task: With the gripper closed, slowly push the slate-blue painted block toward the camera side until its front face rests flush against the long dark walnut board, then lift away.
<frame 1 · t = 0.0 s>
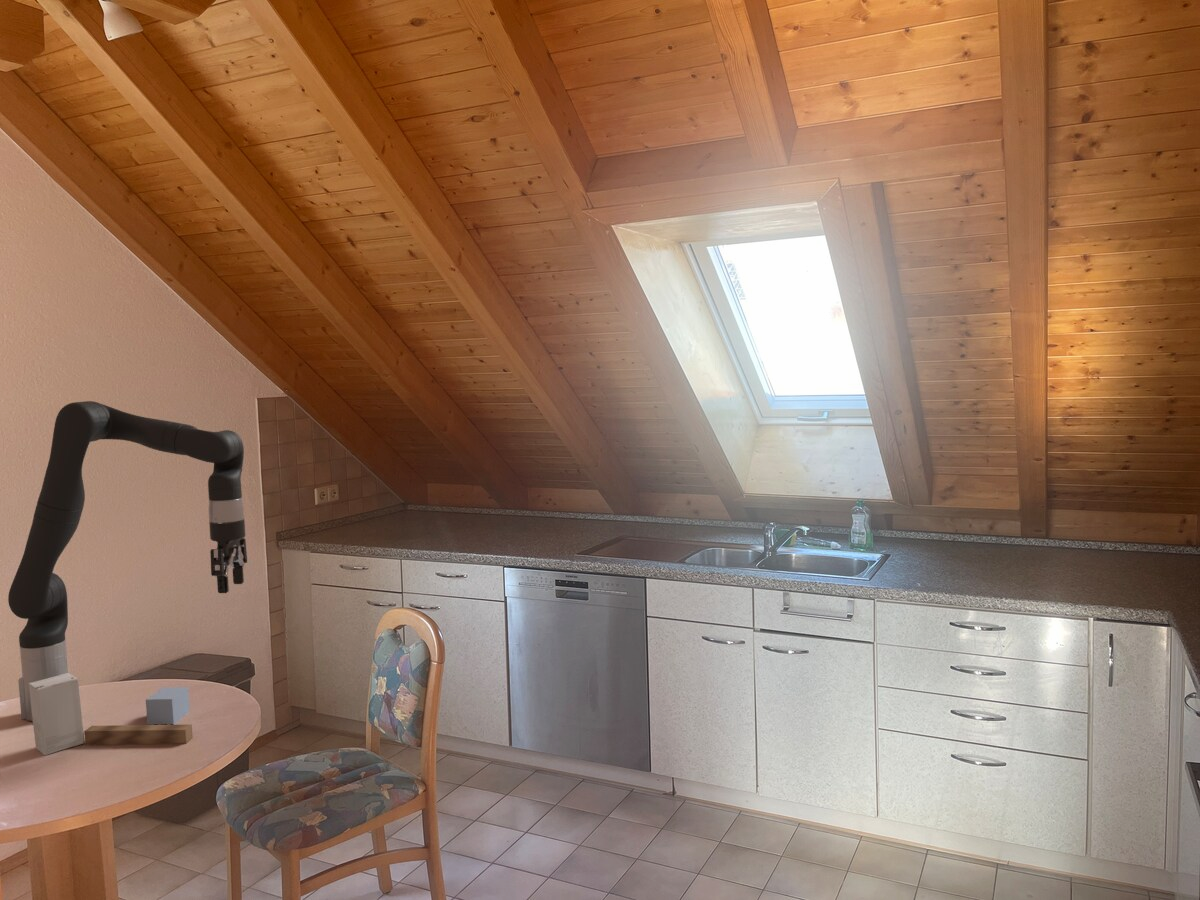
hand: (231, 588, 221), 29 cm above the table, fingers open, 8 cm apart
board: (139, 741, 208), on the table
block: (169, 718, 221), on the table
skincare box: (59, 747, 206), on the table
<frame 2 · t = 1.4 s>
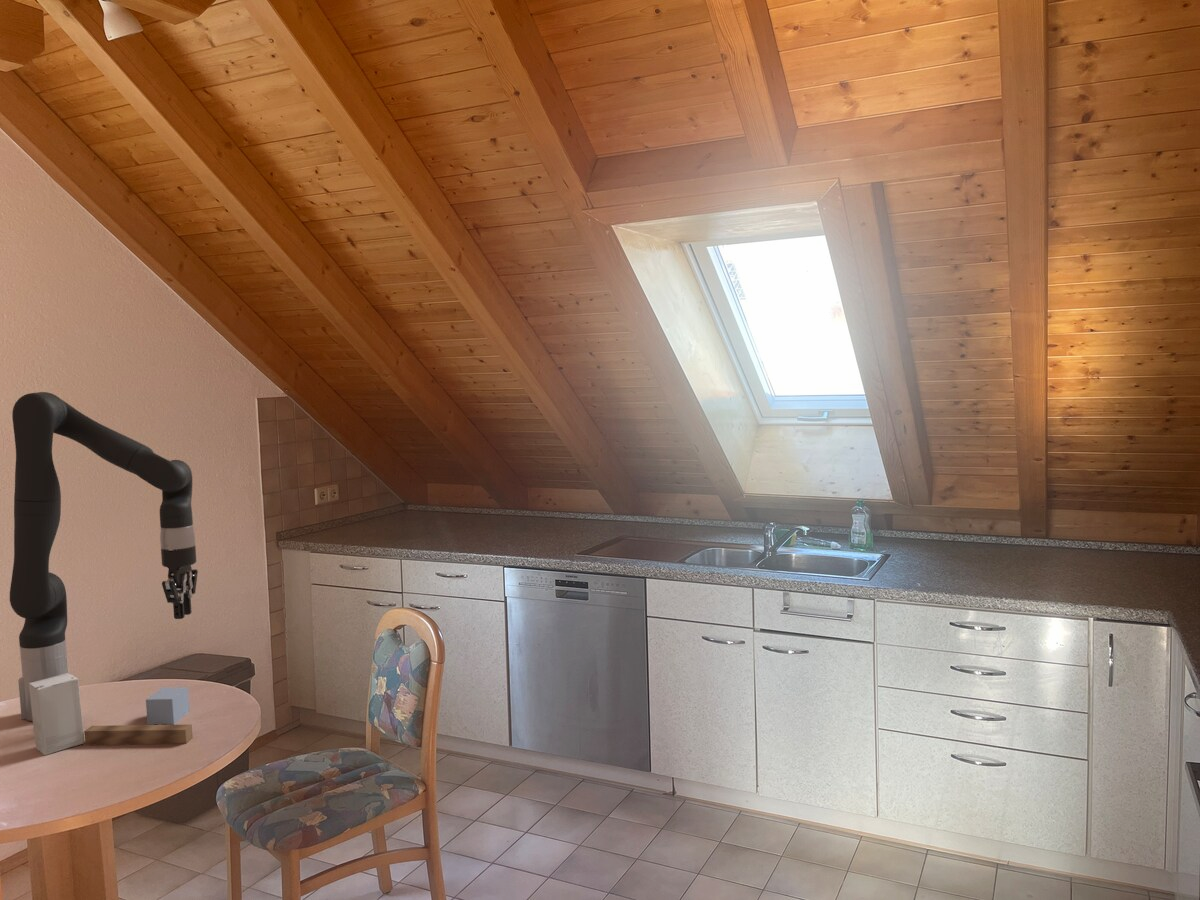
hand: (182, 616, 229), 21 cm above the table, fingers open, 3 cm apart
nothing on the table moved.
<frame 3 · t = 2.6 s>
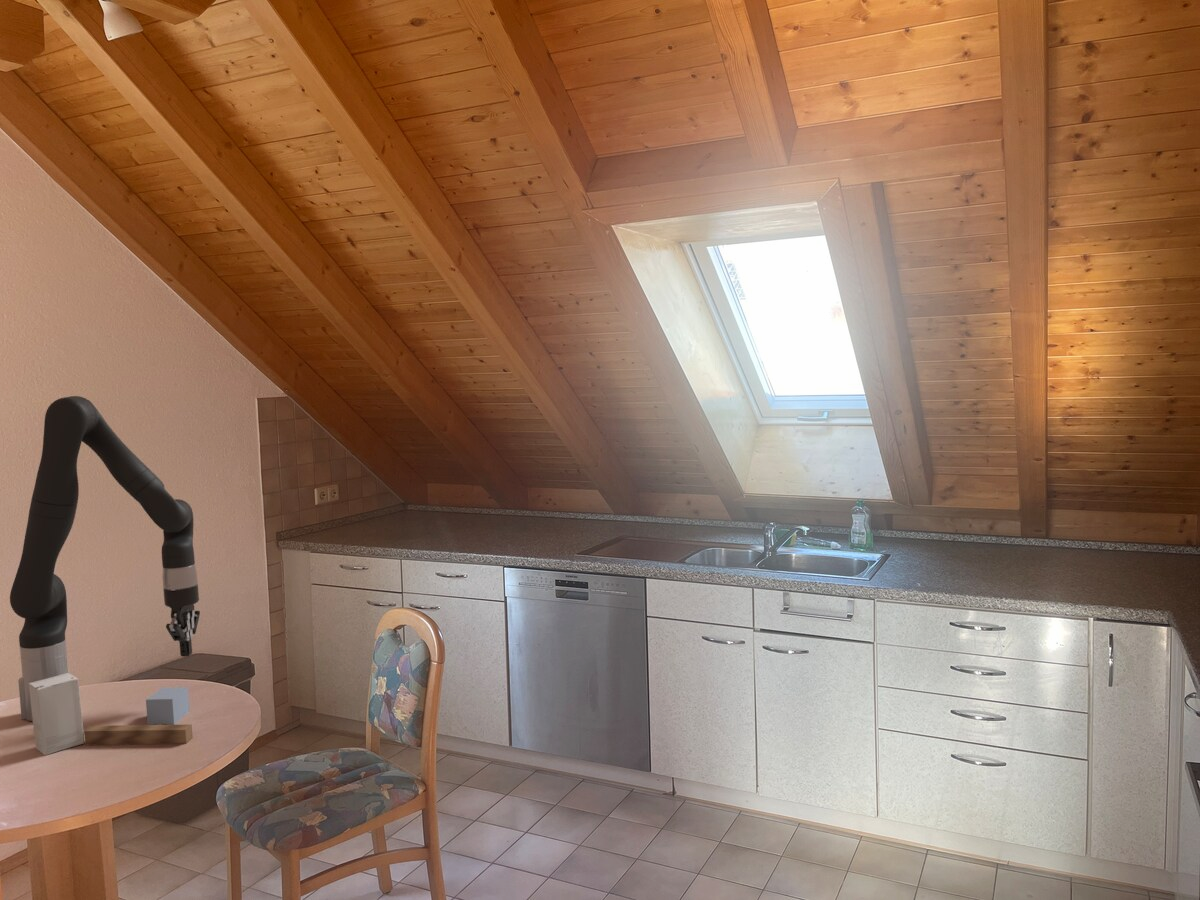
hand: (186, 655, 230), 12 cm above the table, fingers closed
nothing on the table moved.
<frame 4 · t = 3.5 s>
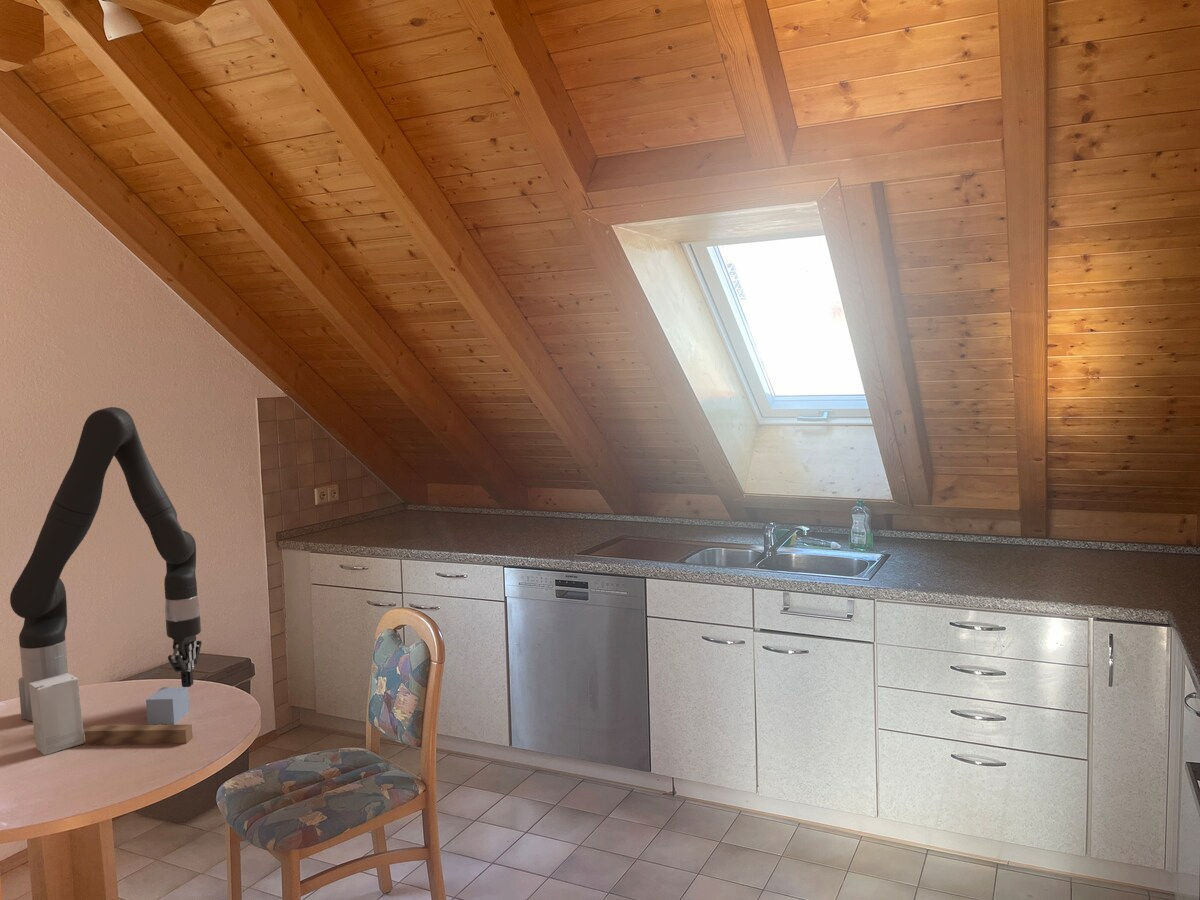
hand: (187, 685, 231), 4 cm above the table, fingers closed
nothing on the table moved.
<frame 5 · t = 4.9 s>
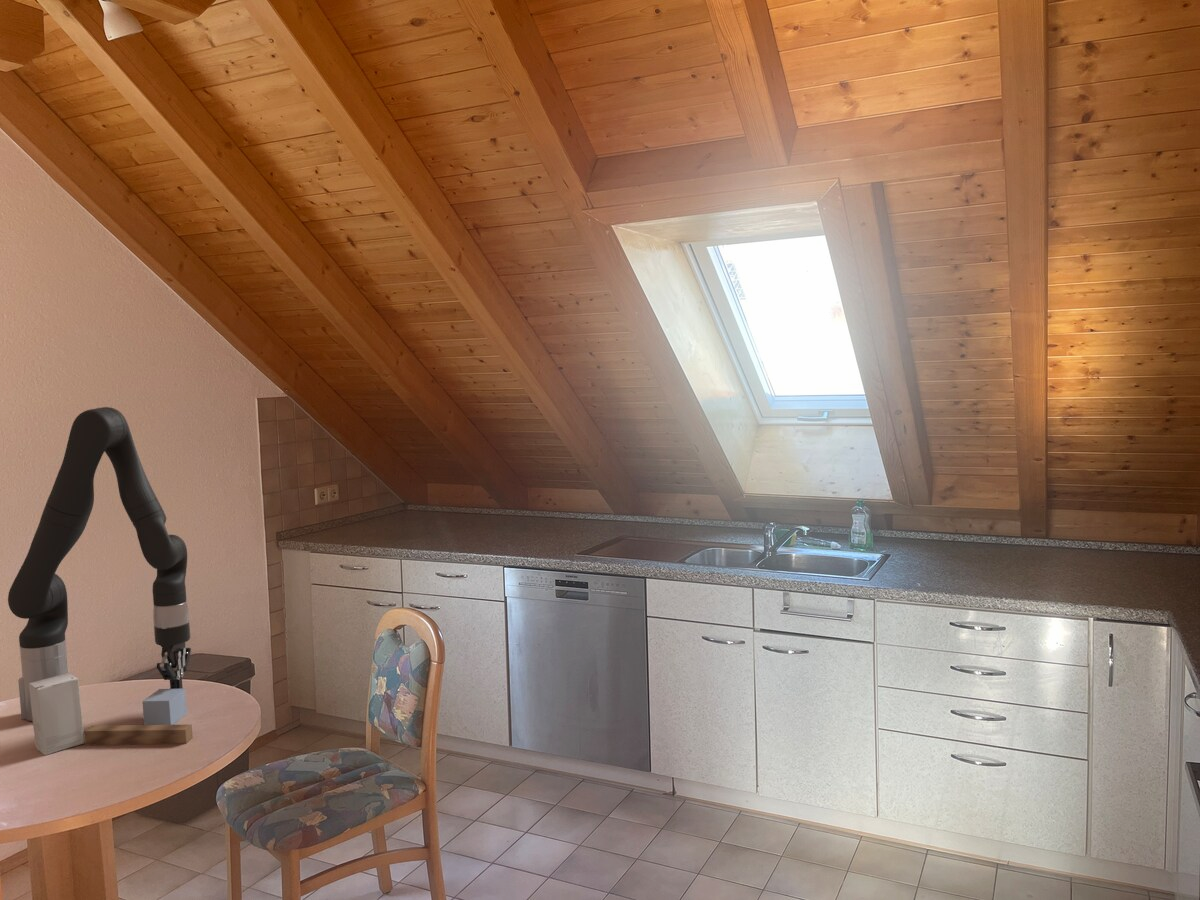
hand: (176, 694, 225), 4 cm above the table, fingers closed
block: (165, 720, 220), on the table, touching gripper
everything else where it was.
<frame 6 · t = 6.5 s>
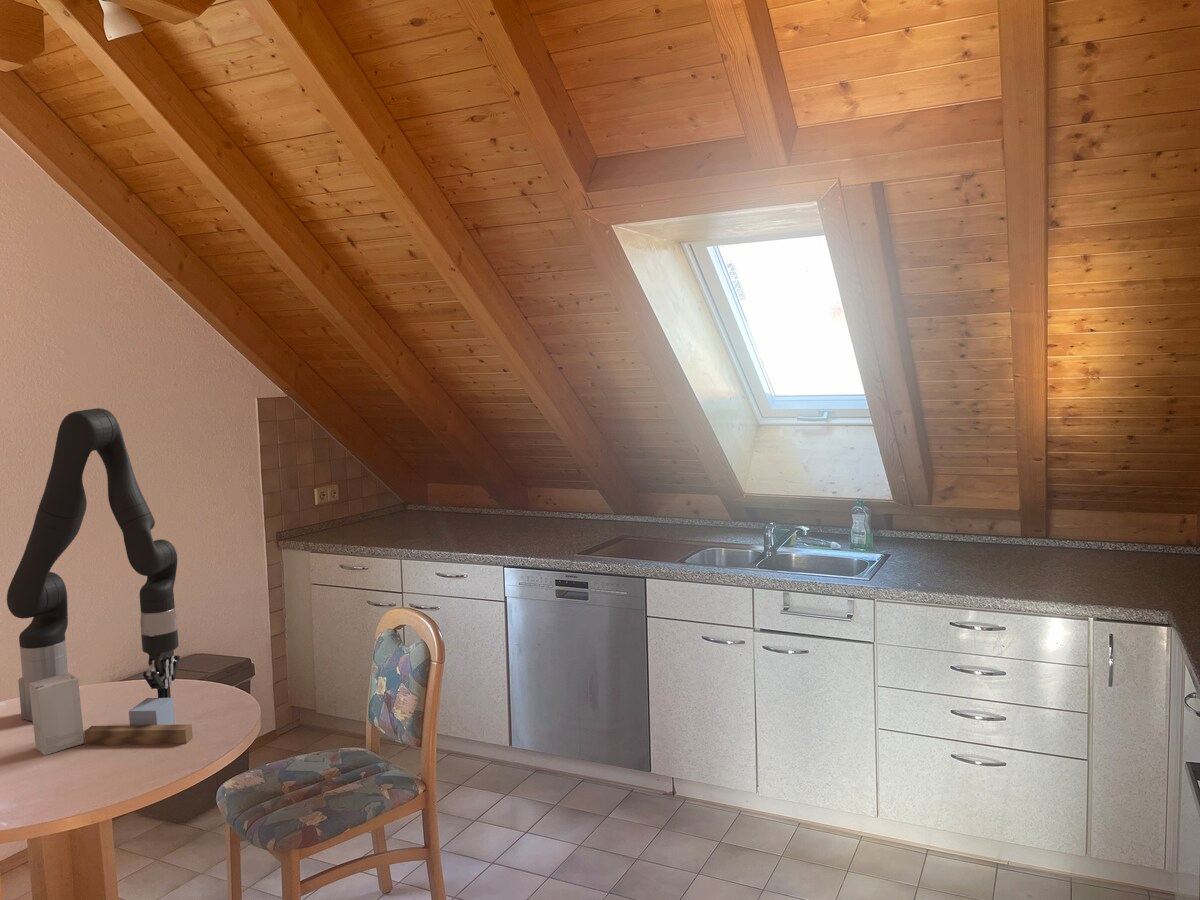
hand: (164, 703, 219), 4 cm above the table, fingers closed
block: (153, 730, 214), on the table, touching gripper
everything else where it was.
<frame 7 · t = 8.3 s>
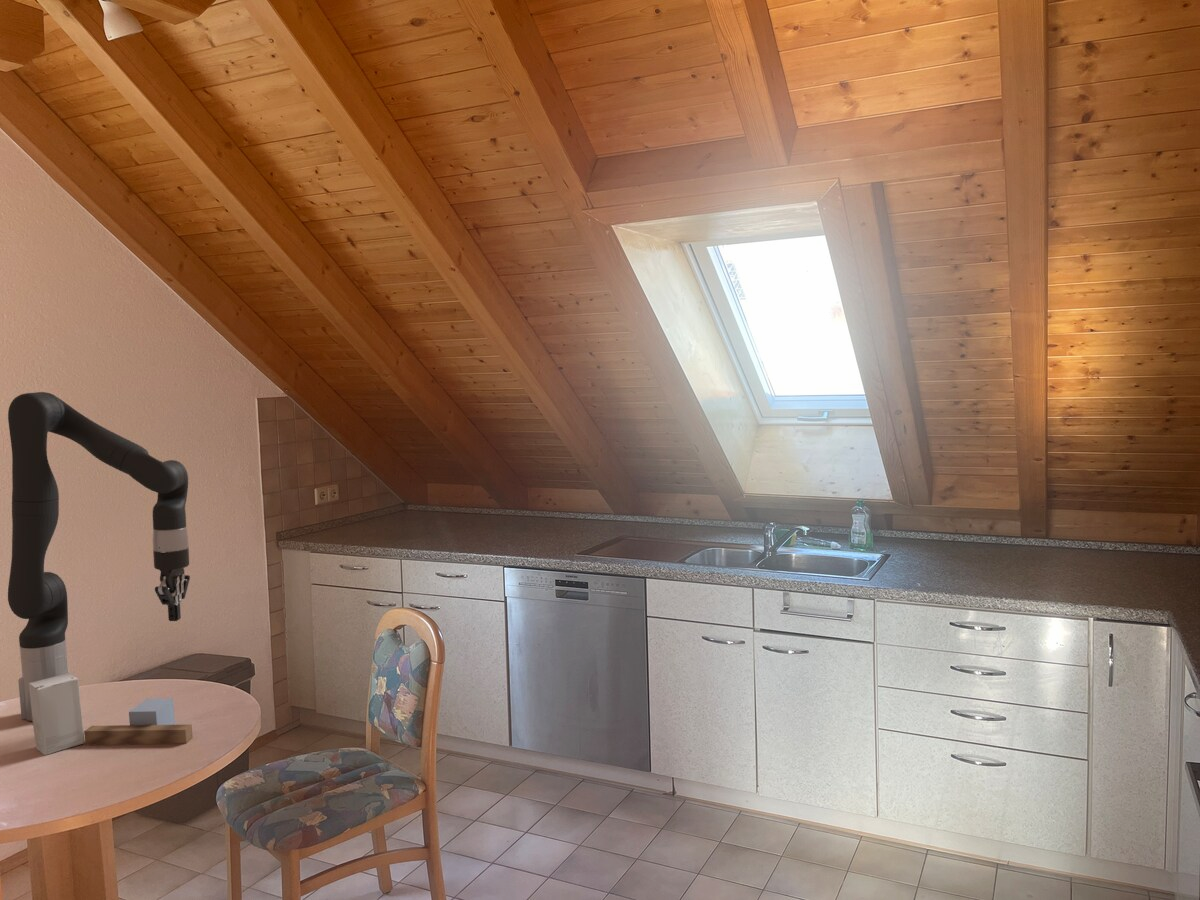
hand: (174, 620, 225), 21 cm above the table, fingers closed
block: (153, 731, 214), on the table
everything else where it was.
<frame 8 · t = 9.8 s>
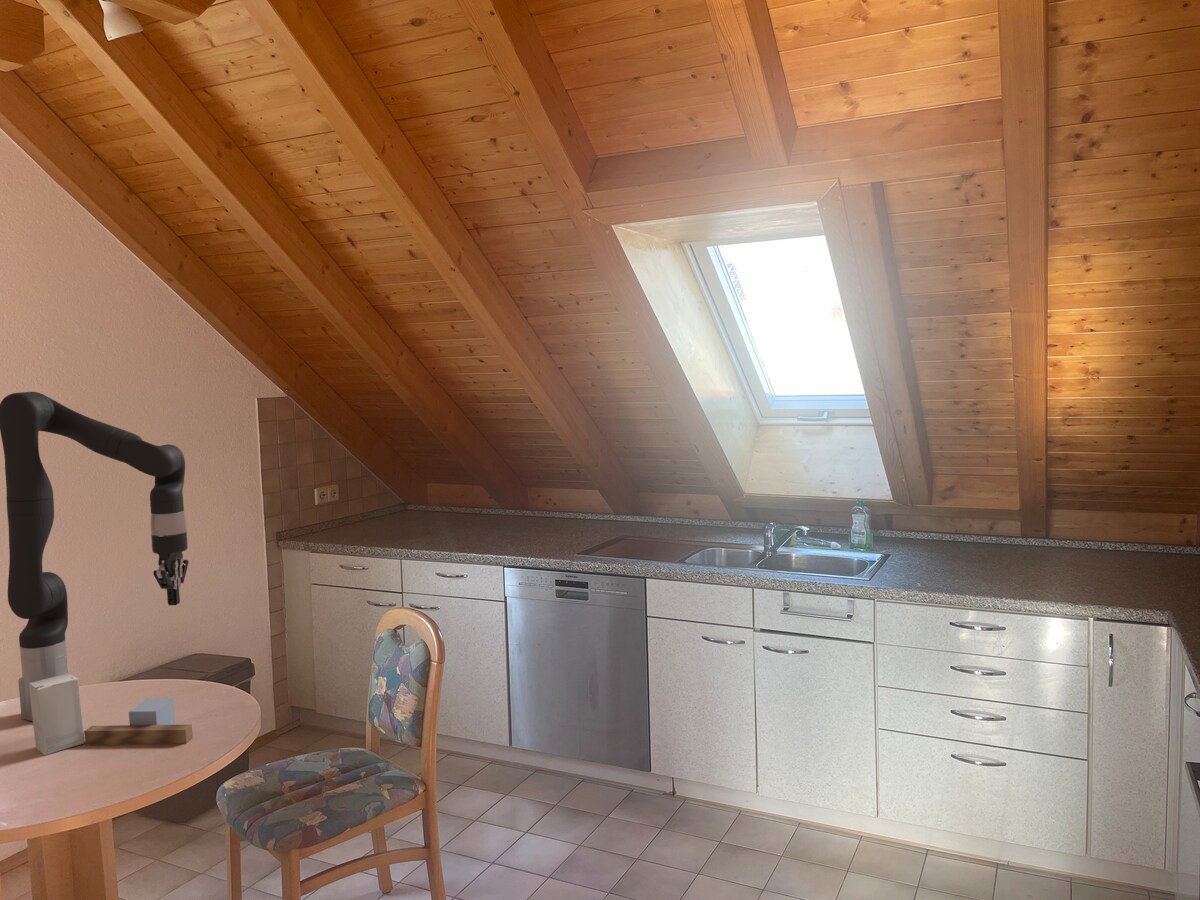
hand: (173, 604, 225), 25 cm above the table, fingers closed
nothing on the table moved.
at the end: block inside the target area on the table beside the board (0.1 cm from its centre), on the table; block tilted 0°; block moved 7.5 cm from its start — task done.
